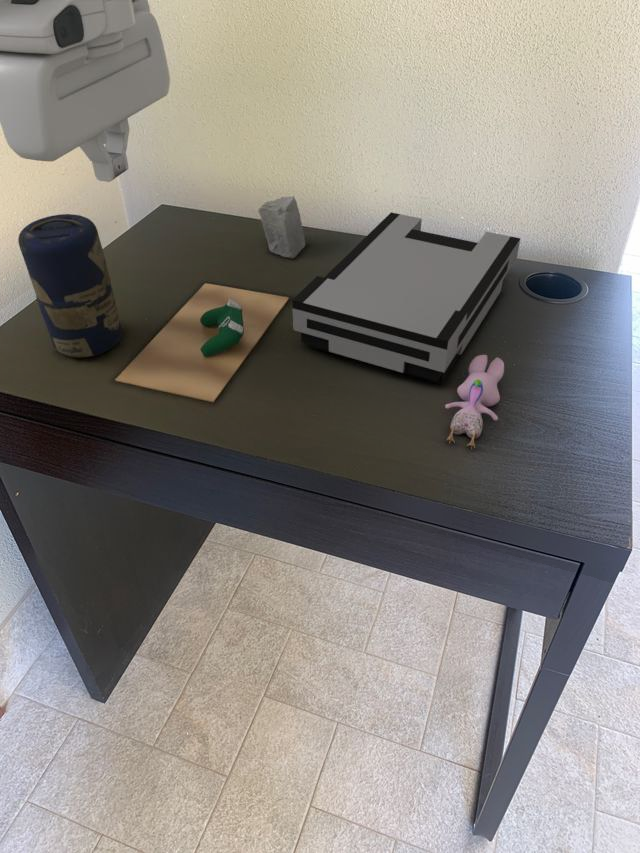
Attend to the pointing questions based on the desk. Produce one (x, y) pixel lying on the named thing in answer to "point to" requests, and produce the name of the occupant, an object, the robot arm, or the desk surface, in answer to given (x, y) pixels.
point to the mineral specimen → (283, 226)
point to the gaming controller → (223, 328)
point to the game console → (405, 297)
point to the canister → (71, 284)
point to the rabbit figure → (476, 397)
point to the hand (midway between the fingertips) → (112, 175)
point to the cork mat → (185, 335)
